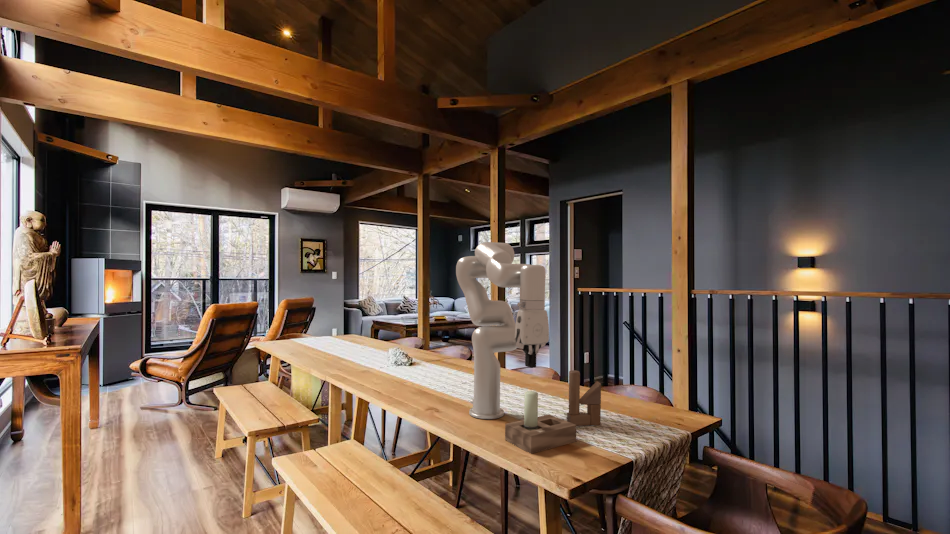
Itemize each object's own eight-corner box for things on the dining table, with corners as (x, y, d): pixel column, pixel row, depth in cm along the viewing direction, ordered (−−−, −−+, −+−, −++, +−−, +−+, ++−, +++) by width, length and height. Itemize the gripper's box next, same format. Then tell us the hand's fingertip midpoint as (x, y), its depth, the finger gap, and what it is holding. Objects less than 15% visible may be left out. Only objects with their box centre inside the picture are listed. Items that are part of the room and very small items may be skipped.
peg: (520, 439, 135) (521, 392, 135) (531, 436, 137) (531, 390, 138) (530, 443, 131) (530, 395, 132) (540, 440, 134) (540, 393, 134)
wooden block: (600, 425, 151) (601, 372, 152) (570, 426, 150) (570, 372, 150) (596, 422, 155) (597, 369, 155) (566, 423, 154) (567, 370, 154)
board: (505, 440, 136) (505, 423, 137) (548, 429, 146) (549, 414, 147) (530, 453, 126) (531, 435, 127) (576, 441, 136) (576, 424, 137)
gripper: (520, 307, 128) (519, 372, 128) (559, 306, 136) (557, 366, 136) (504, 305, 134) (503, 366, 134) (542, 304, 142) (540, 361, 142)
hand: (530, 366), depth 135 cm, fingers closed
